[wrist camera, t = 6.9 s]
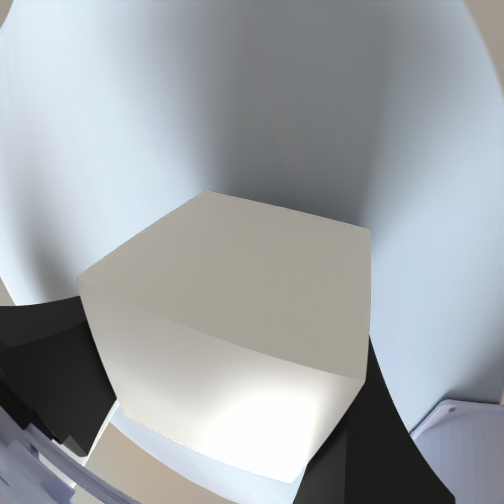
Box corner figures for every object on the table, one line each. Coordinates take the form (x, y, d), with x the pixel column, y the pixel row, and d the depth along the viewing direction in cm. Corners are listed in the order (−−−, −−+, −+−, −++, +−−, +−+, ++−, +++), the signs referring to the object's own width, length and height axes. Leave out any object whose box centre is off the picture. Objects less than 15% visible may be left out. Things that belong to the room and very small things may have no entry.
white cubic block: (370, 229, 10) (365, 381, 4) (327, 352, 13) (290, 483, 7) (205, 190, 11) (75, 277, 6) (202, 313, 14) (125, 415, 9)
